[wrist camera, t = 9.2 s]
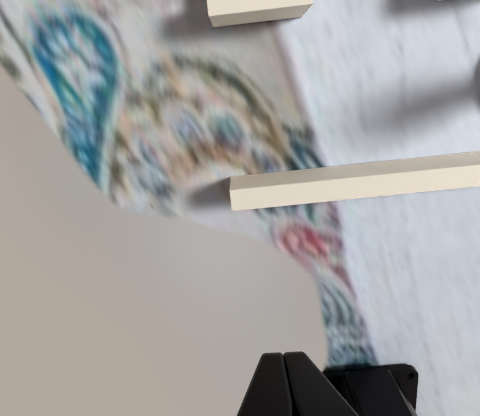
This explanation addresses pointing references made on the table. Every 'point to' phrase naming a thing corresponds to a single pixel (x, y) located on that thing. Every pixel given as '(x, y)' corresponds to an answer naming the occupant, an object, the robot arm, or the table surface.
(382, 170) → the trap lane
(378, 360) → the table surface
